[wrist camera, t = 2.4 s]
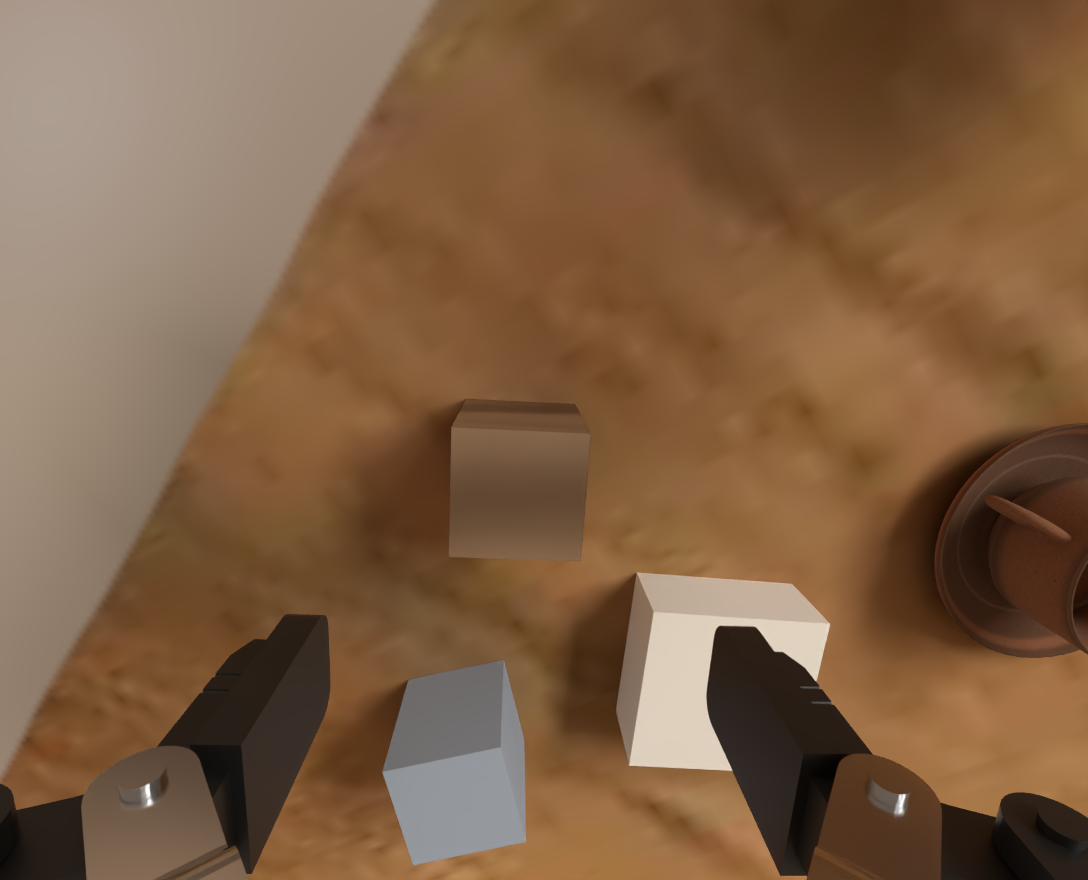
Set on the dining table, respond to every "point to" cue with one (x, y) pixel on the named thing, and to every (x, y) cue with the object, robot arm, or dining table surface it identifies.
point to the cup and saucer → (1021, 547)
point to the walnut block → (518, 481)
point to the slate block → (458, 764)
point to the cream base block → (698, 659)
